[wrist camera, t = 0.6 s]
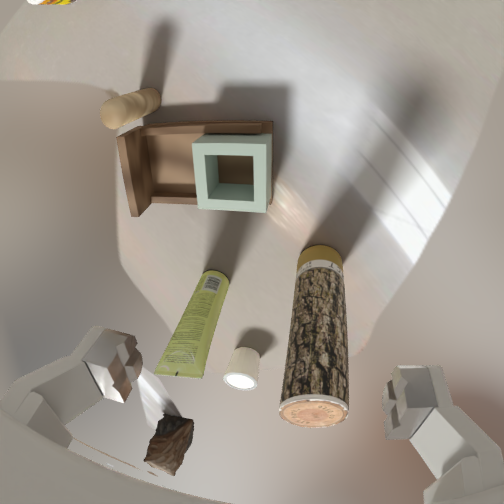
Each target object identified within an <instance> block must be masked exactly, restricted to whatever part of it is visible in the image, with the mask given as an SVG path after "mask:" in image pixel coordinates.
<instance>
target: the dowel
mask: <svg viewBox="0 0 504 504" xmlns="http://www.w3.org/2000/svg"><path fill="white" fill-rule="evenodd" d="M160 104H161V96H160V94H159V92H158V91H157V90H155V89H153V88H146V89H142V90H138V91H135V92H131V93H128V94H124V95H121V96H118V97H115V98H112V99H109V100H107V101H105V102H104V103H103V105H102V107H101V110H100V116H101V120H102V122H103V123H104V125H105V126H107V127H108V128H110V129H117V128H119V127H121V126H124V125H126V124H128V123H130V122H132V121H134V120H136V119H139V118H141V117H143V116H145V115H148V114H150V113H152V112H155V111H156V110H157V109H158V108H159V107H160Z"/></svg>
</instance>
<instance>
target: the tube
mask: <svg viewBox="0 0 504 504" xmlns="http://www.w3.org/2000/svg"><path fill="white" fill-rule="evenodd" d="M228 287H229V281H228V279H227V277H226V276H225V275H224V274H222V273H220V272H218V271H212V270H211V271H206V272H205V273H203V275H202V276H201V278H200V280H199V283H198V285H197V287H196V289H195V291H194V293H193V295H192V297H191V299H190V301H189V303H188V305H187V307H186V309H185V311H184V313H183V316H182V318H181V320H180V322H179V324H178V326H177V328H176V330H175V332H174V334H173V336H172V338H171V340H170V342H169V344H168V346H167V348H166V350H165V352H164V354H163V356H162V358H161V359H160V361H159V363H158V365H157V367H156V369H155V372H154V375H165V376H176V377H186V378H197V379H202V377H203V375H204V370H205V365H206V360H207V356H208V353H209V349H210V345H211V341H212V338H213V335H214V331H215V328H216V325H217V321H218V318H219V315H220V312H221V309H222V306H223V302H224V299H225V296H226V294H227V291H228Z"/></svg>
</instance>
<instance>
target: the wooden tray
mask: <svg viewBox="0 0 504 504" xmlns="http://www.w3.org/2000/svg"><path fill="white" fill-rule="evenodd" d="M205 133H254V134H260V133H264V134H272V162H273V121H244V120H224V121H187V122H169V123H155V124H148V125H146V126H137V127H135V128H133V129H131V130H129V131H127V132H126V133H124V134H122V135H120V136H118V137H116V138H117V144H118V151H119V157H120V162H121V168H122V173H123V179H124V184H125V189H126V194H127V199H128V203H129V208H130V213H131V217H139V216H140V215H141V214H142V213H143V212H144V211H145V210H146V209H147V208H148V207H149V205H150V204H151V203H169V204H193V205H198V203H197V193H196V183H195V173H194V163H193V152H192V143H193V142H194V141H195V140H197V139H198V138H199V137H201V136H202V135H203V134H205ZM217 160H218V175H219V183H228V184H249V185H254V160H253V156H240V155H217ZM271 203H272V164H271V198H270V201H269V205H271Z"/></svg>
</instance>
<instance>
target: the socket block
mask: <svg viewBox="0 0 504 504" xmlns="http://www.w3.org/2000/svg"><path fill="white" fill-rule="evenodd" d="M192 152H193V163H194V173H195V183H196V193H197V203H198V209H211V210H228V211H244V212H258V213H266V211H267V208H268V205H269V201H270V198H271V164H272V134H264V133H260V134H254V133H205V134H203V135H202V136H201V137H199V138H198V139H197V140H195V141H194V142H193V143H192ZM217 155H240V156H253V160H254V185H249V184H228V183H219V175H218V160H217Z"/></svg>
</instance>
